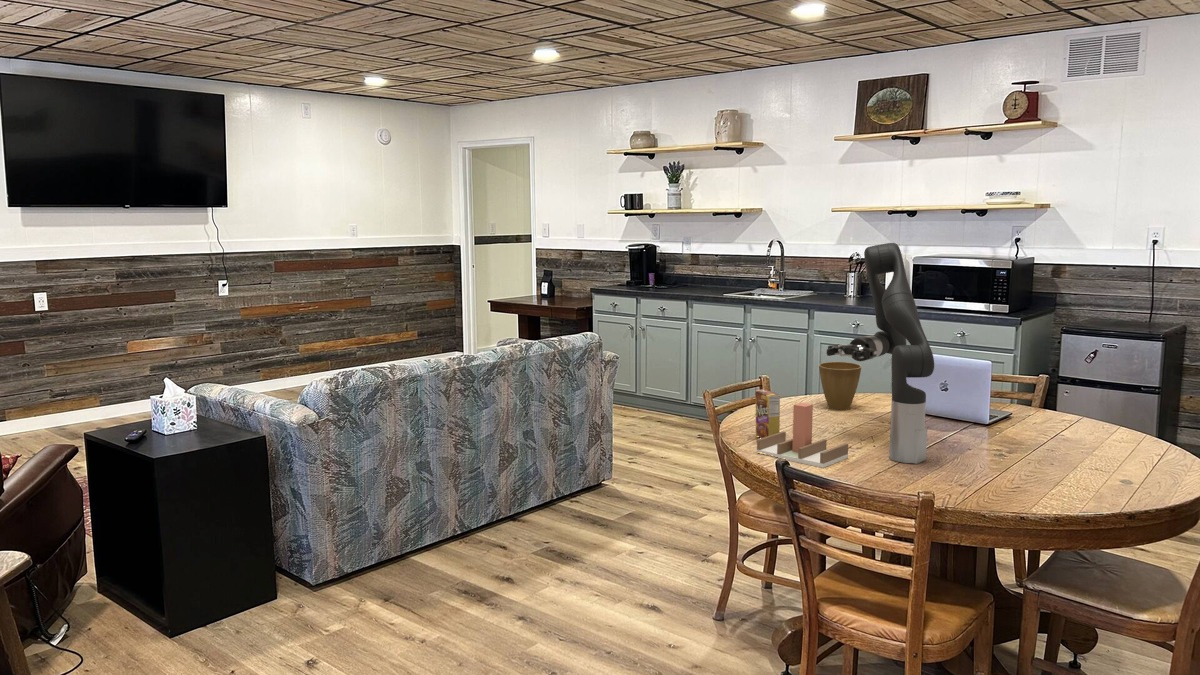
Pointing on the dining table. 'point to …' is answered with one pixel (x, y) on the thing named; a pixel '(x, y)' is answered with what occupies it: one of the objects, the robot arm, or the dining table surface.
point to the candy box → (767, 413)
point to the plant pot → (839, 383)
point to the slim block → (802, 425)
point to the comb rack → (802, 450)
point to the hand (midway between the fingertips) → (840, 353)
